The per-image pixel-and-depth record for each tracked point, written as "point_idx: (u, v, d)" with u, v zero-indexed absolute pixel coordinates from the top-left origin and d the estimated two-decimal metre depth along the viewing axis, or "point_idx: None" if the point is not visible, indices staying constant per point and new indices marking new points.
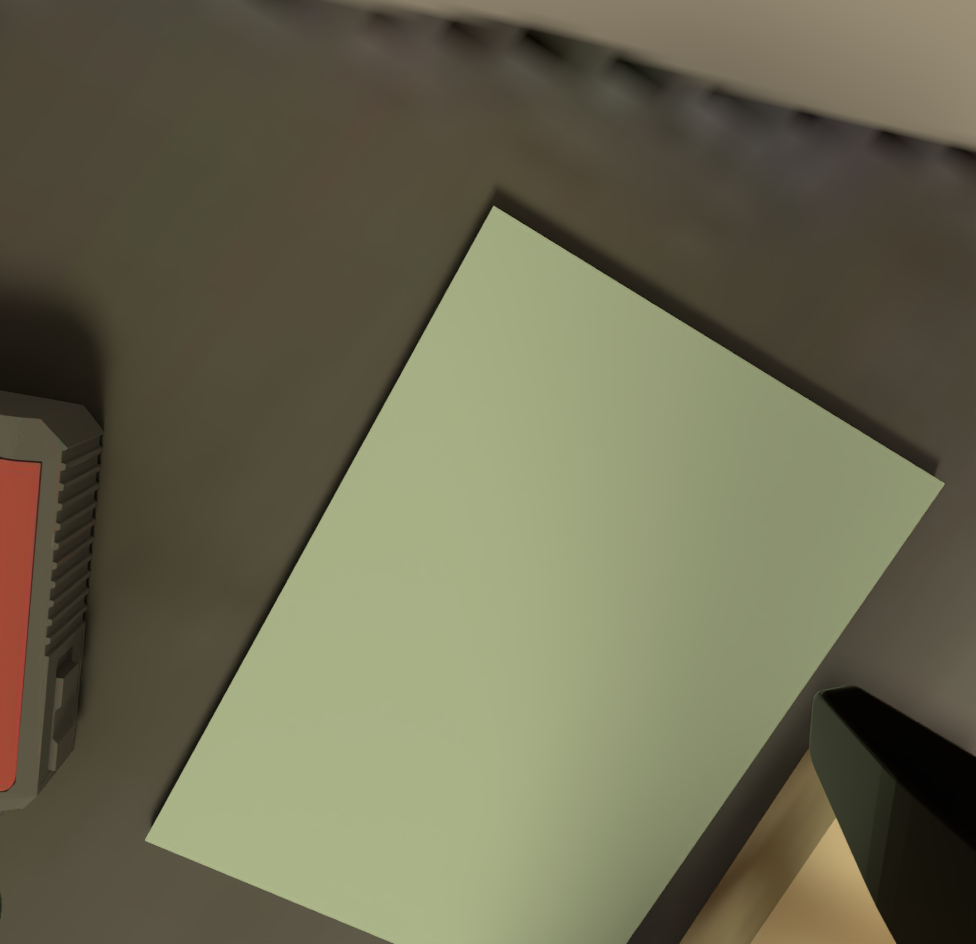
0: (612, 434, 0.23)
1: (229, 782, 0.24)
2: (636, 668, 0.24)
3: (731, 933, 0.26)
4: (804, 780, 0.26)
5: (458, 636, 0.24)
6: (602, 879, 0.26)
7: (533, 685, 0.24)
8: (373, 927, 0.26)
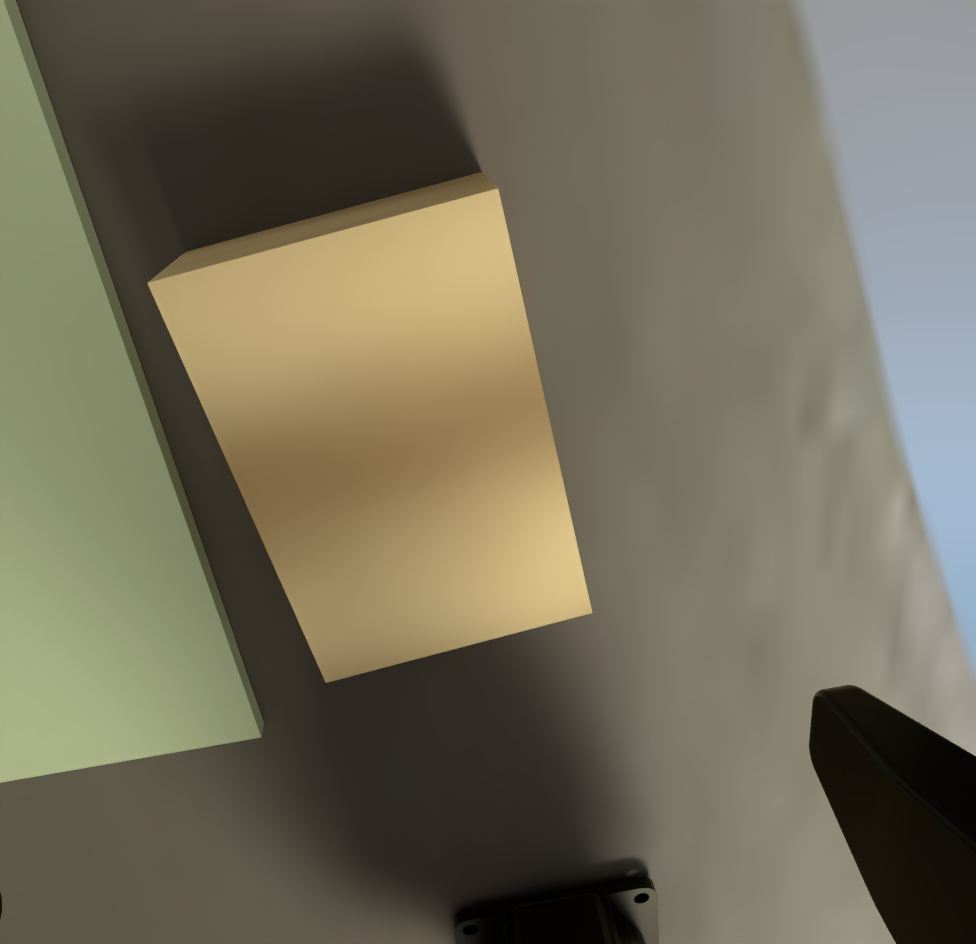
0: None
1: None
2: None
3: None
4: None
5: None
6: (110, 585, 0.18)
7: None
8: None
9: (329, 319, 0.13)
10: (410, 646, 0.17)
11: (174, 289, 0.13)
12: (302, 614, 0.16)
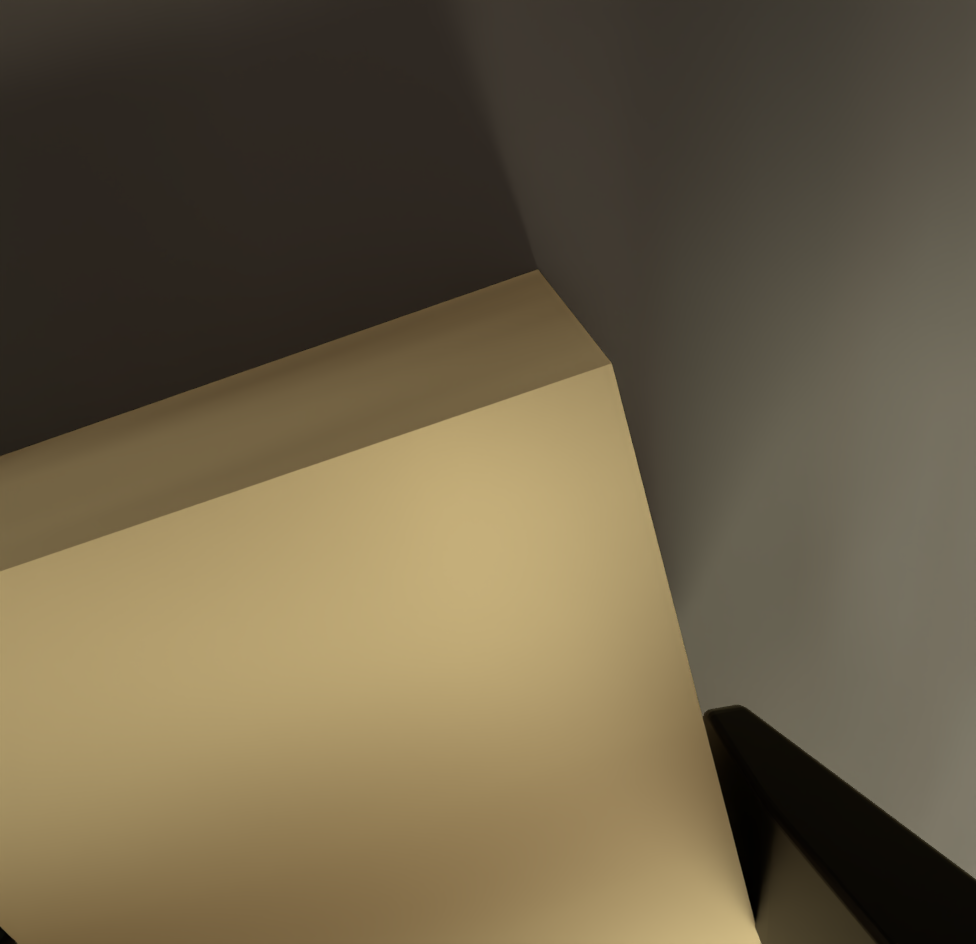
0: None
1: None
2: None
3: None
4: None
5: None
6: None
7: None
8: None
9: (211, 687, 0.06)
10: None
11: None
12: None
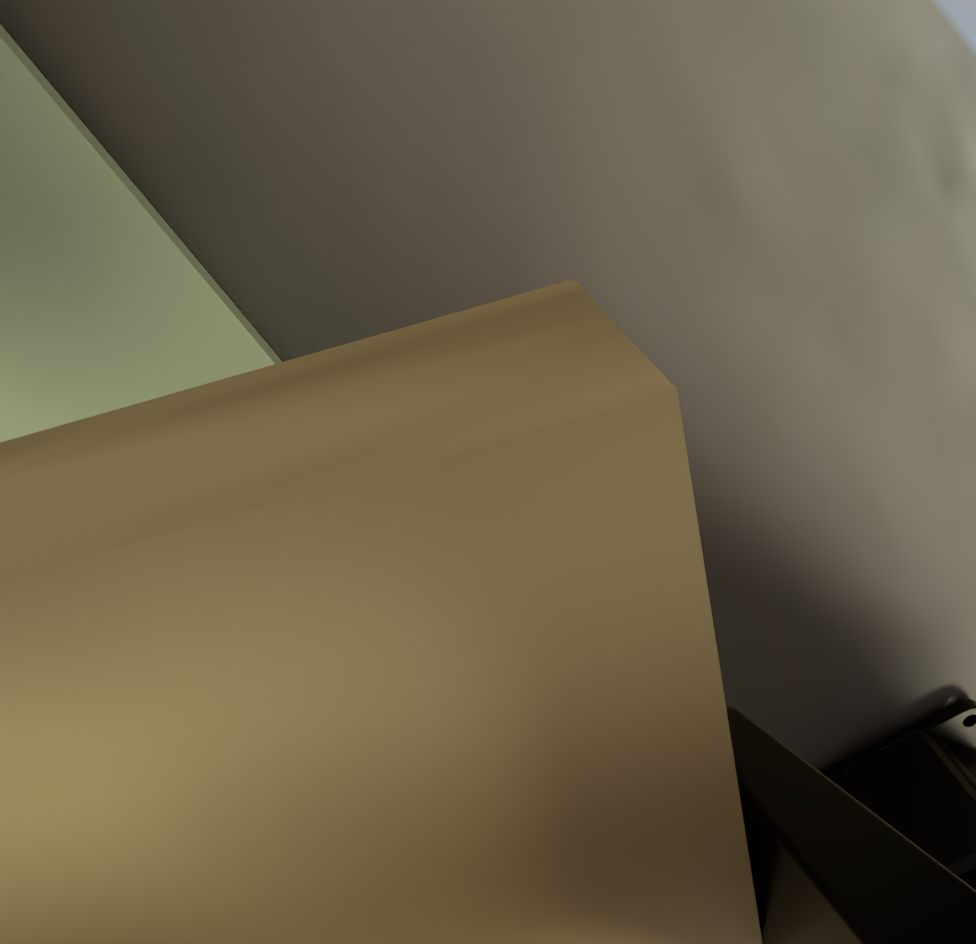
0: None
1: None
2: None
3: None
4: None
5: None
6: None
7: None
8: None
9: (232, 705, 0.05)
10: None
11: None
12: None
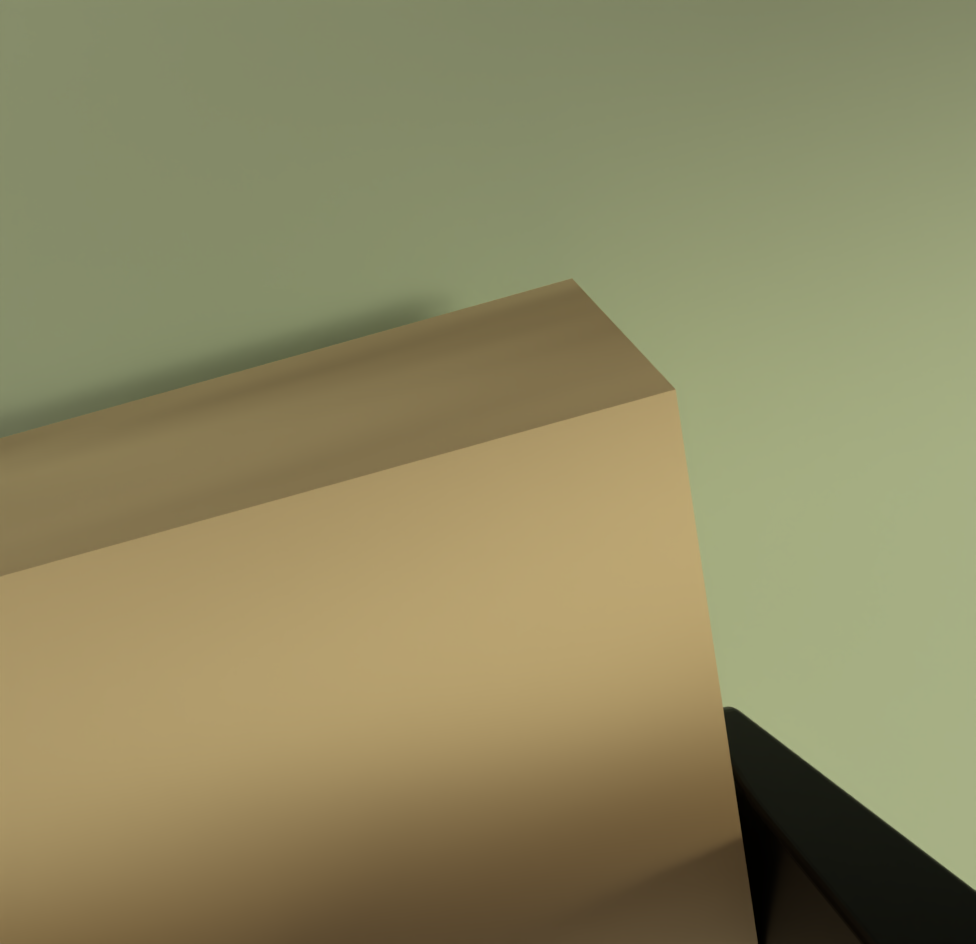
0: None
1: None
2: None
3: None
4: None
5: None
6: (847, 106, 0.08)
7: None
8: None
9: (226, 703, 0.05)
10: None
11: None
12: None
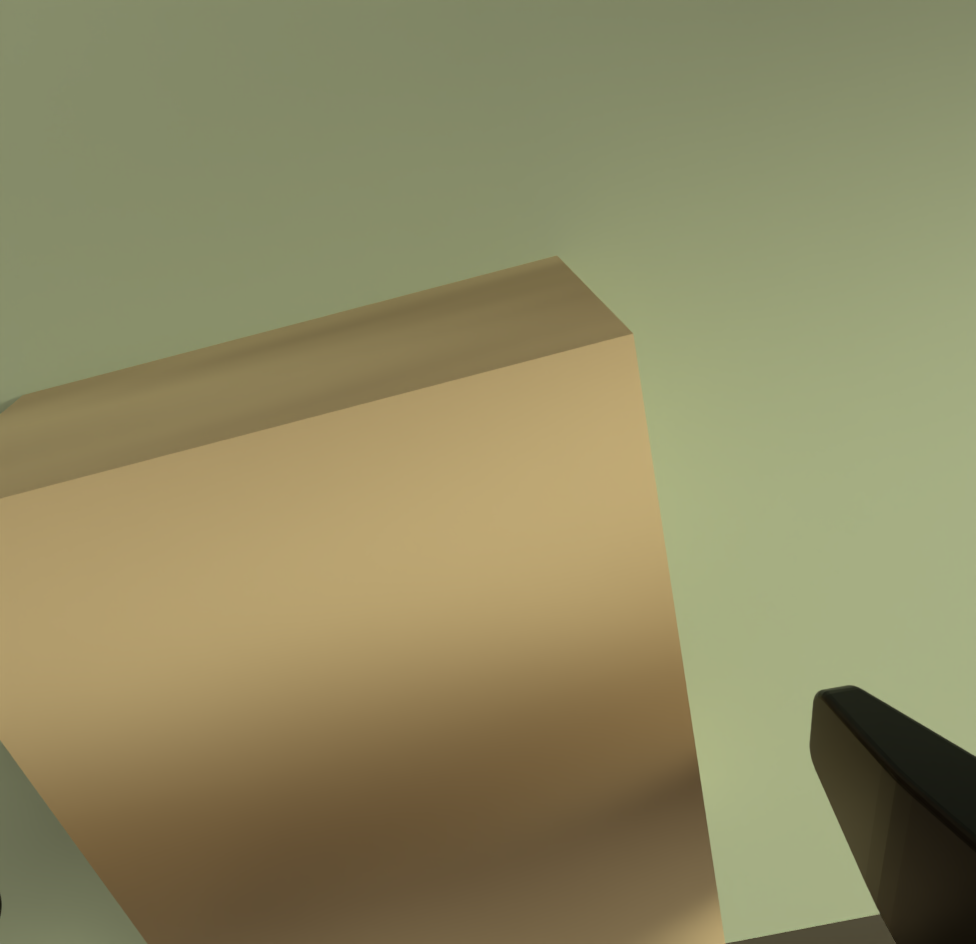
0: None
1: None
2: None
3: None
4: None
5: None
6: (852, 105, 0.08)
7: None
8: None
9: (264, 592, 0.06)
10: None
11: None
12: None
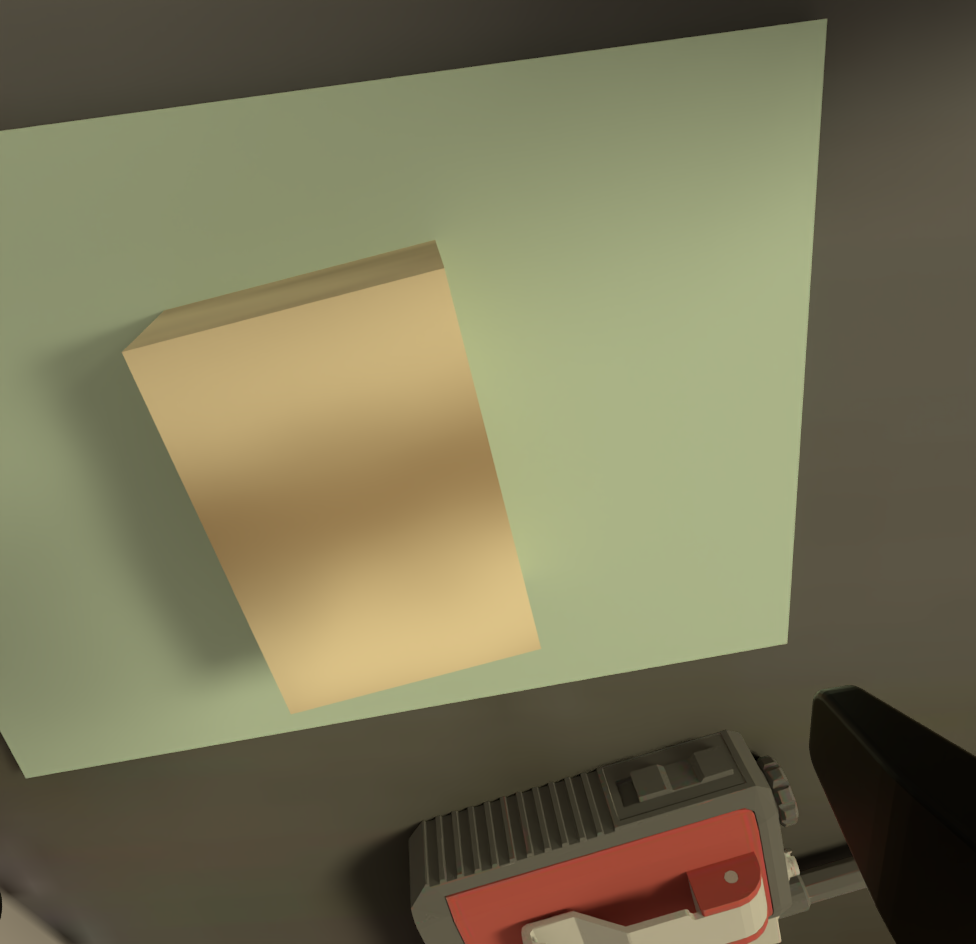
0: (82, 573, 0.19)
1: (686, 622, 0.22)
2: None
3: None
4: None
5: None
6: (578, 165, 0.16)
7: None
8: (793, 392, 0.19)
9: (290, 384, 0.15)
10: (370, 680, 0.18)
11: (146, 357, 0.14)
12: (268, 651, 0.17)
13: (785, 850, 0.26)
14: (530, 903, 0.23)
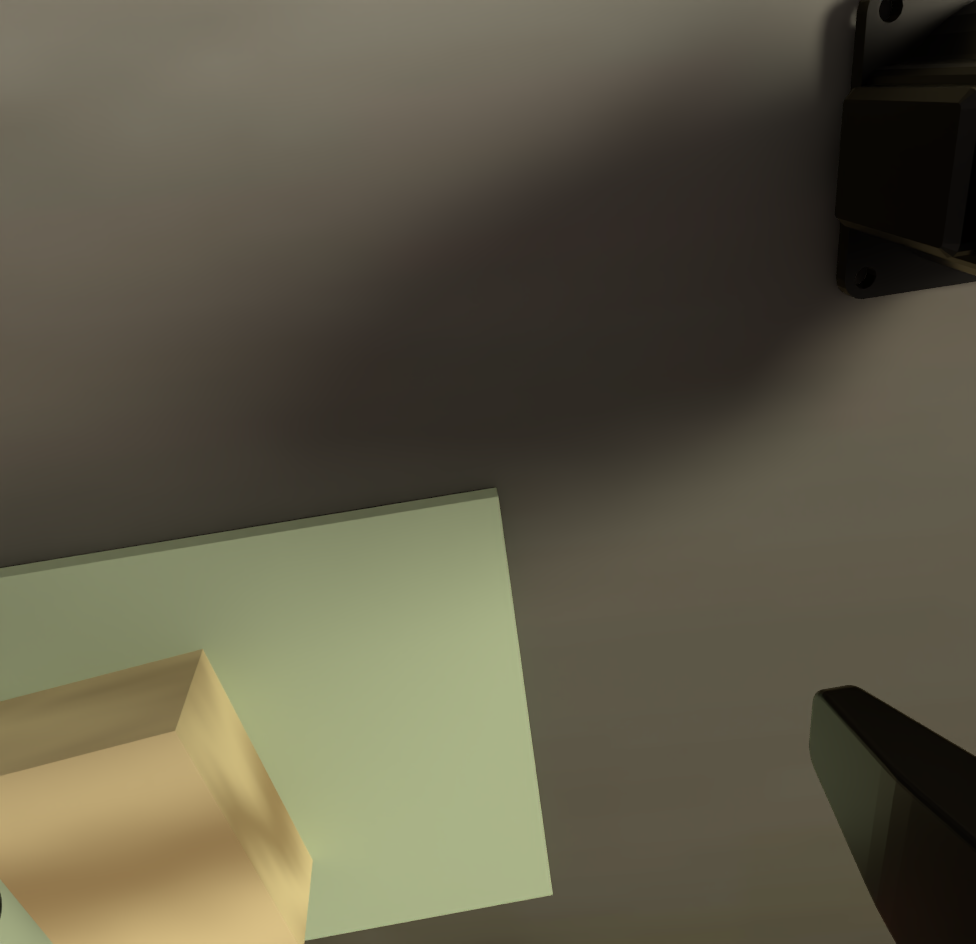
0: None
1: (461, 884, 0.26)
2: None
3: None
4: None
5: None
6: (312, 596, 0.21)
7: None
8: (521, 729, 0.24)
9: (66, 804, 0.19)
10: None
11: None
12: None
13: None
14: None
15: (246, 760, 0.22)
